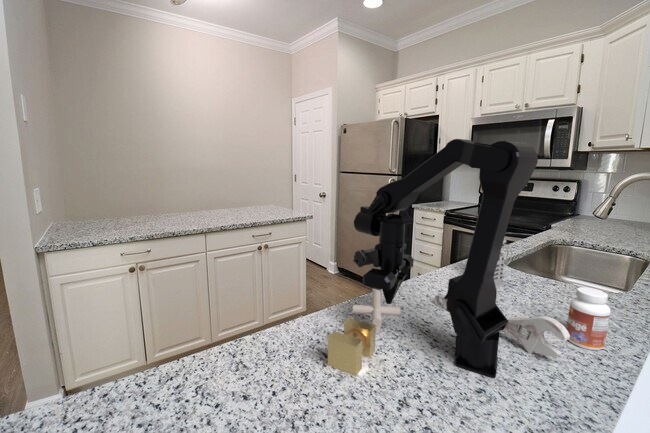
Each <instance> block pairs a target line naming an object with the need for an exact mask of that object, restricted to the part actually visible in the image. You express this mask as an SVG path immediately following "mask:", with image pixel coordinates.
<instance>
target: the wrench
mask: <svg viewBox="0 0 650 433" xmlns="http://www.w3.org/2000/svg"><path fill="white" fill-rule="evenodd" d="M445 296H446V294H437V295H434V297H433V298H434V299H433V301H434V304H435V305H436V306H438V307H440V308H441V309H444V310H447V306H446V305H447V299H444V297H445ZM440 299H441V300H440ZM441 301H442V302H441ZM447 311H448V310H447ZM504 316H505V317H506V318H507V320H508V324H507V325H506V327H505V329H504V330H502V331H503V332H506V333H507V334H509V335H510V336H511V337H513V338H514V339H515V340H517V341H518V342H519V343H520V344H521V345H522V346H523V349H524V350H525V351H527V353H528V355H531V354H533V353H536V354H539V355H541V356H545V357H546V356H547V357H551V358H552V357H553V358H554V357H556V358H558V357H560V356H561V354H562V352H561V351H560V350H559V349H558V348H557V347H556V346H554V345H553V344H550V342H547V341H546V339H545V332H547V331H549V332H551V334H554V335H555V336H556V337H558V338H559V339H560V340H562V341H563V342H566V341H569V340H568V339H570V335H569V333H568V331H567V329H566V328H567V327H565V326H564V325H563V323H561V322H559V321H558V320H557V319H555V318H553V317H550V316H547V315H546V316H545V315H541V316H534V317H510V316H507V315H504Z"/></svg>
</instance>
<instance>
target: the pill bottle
mask: <svg viewBox="0 0 650 433" xmlns="http://www.w3.org/2000/svg"><path fill="white" fill-rule="evenodd" d="M575 295H576V297H574V298H572V299H571V300H570V303H569V309H568V317H567V323H566V327H565V328H566V329H567V331H568V333H569V335H570V339H568V340H567V341H569V343H572V344H573V345H575V346H577V347H580V348H582V349H584V350H585V349H586V350H588V351H600V350H603V349H604V348H605V345H606V340H607V333H608V328H609V323H610V318H611V309H610V308H611V307H609V305H608V304H607V302H608V299H609V298H608V297H609V295H608V294H607V293H606V292H605V291H602V290H600V289H596V288H593V287H585V286H581V287H577V289H576V292H575Z"/></svg>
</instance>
